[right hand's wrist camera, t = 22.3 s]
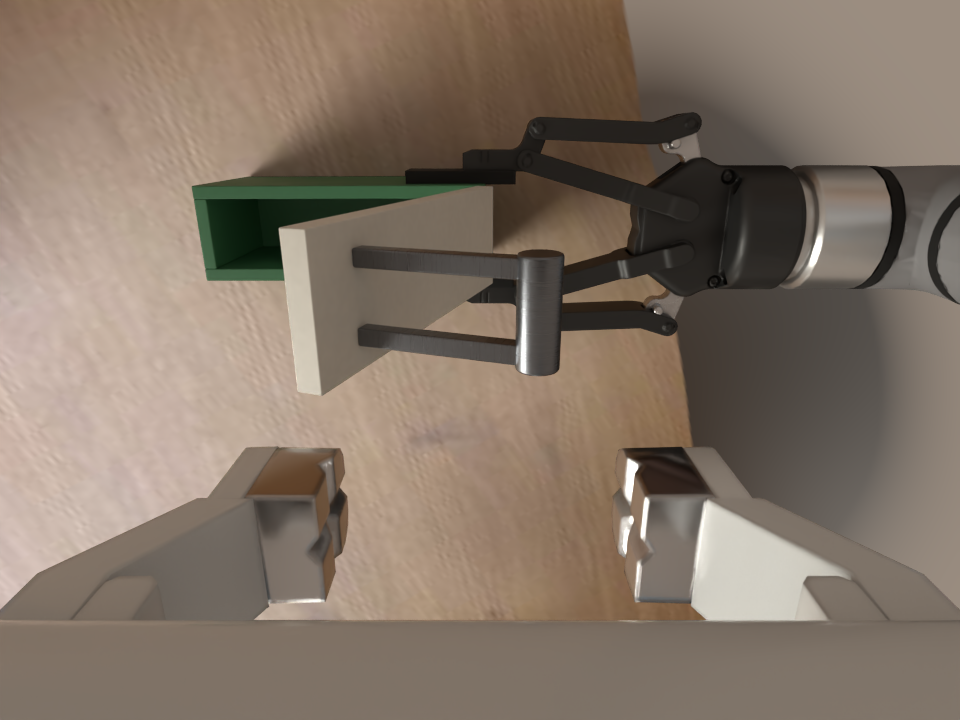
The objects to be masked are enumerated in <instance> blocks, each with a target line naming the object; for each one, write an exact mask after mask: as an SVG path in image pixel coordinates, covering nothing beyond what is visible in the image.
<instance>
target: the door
mask: <svg viewBox="0 0 960 720" xmlns="http://www.w3.org/2000/svg"><path fill="white" fill-rule="evenodd" d="M279 235H280V244H281V252H282V261H283V270H284V278H285V287H286V295H287V304H288V312H289V321H290V329H291V338H292V346H293V355H294V363H295V372H296V381H297V389H298V392H301V393H307V394H314V395H320V396H323V395H324V394H326V393H327V392H329V391H330V390H332V389H333V388H335V387H336V386H338V385H339V384H341V383H342V382H344V381H345V380H347V379H348V378H350V377H351V376H353V375H354V374H356V373H357V372H359V371H361V370H362V369H364V368H365V367H367V366H368V365H370V364H371V363H373V362H374V361H376V360H377V359H379V358H380V357H382V356H383V355H385V354H386V353H388V352H389V351H391V350H396V351H404V352H412V353H421V354H429V355H437V356H445V357H453V358H461V359H469V360H477V361H485V362H494V363H502V364H510V365H515V367H516V370H517V371H518V372H520V373H522V374H526V375H531V376H547V375H552V374H554V373H556V372H557V371H558V370H559V366H560V344H561V321H562V299H563V276H564V254H563V253H561V252H559V251H554V250H526V251H522V252H519V253H518V255H511V254H495V253H493V186H474V187H470V188H465V189H460V190H455V191H451V192H446V193H441V194H436V195H432V196H427V197H422V198H417V199H412V200H408V201H403V202H398V203H393V204H389V205H384V206H379V207H374V208H370V209H365V210H360V211H355V212H351V213H346V214H341V215H336V216H332V217H327V218H322V219H317V220H312V221H308V222H303V223H298V224H293V225H289V226H284V227H280V228H279ZM493 278H498V279H511V280H517V295H516V340H513V339H504V338H495V337H486V336H477V335H468V334H458V333H449V332H440V331H431V330H423V329H424V328H426V327H427V326H429V325H430V324H432V323H433V322H435V321H436V320H438V319H439V318H441V317H442V316H444V315H445V314H447V313H448V312H450V311H451V310H453V309H454V308H456V307H457V306H459V305H460V304H462V303H463V302H465V301H466V300H468V299H469V298H471V297H473V296H474V295H476V294H477V293H479V292H480V291H482V290H483V289H485V288H486V287H488V286H489V285H491V284H492V283H493Z"/></svg>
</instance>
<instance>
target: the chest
mask: <svg viewBox="0 0 960 720" xmlns="http://www.w3.org/2000/svg"><path fill="white" fill-rule="evenodd" d="M474 186H486V184H406V178H405V176H314V177H244V178H238V179H232V180H226V181H220V182H214V183H208V184H202V185H196V186H192V191H193V197H194V203H195V209H196V215H197V221H198V227H199V234H200V240H201V246H202V252H203V258H204V264H205V268H206V269H205V271H206V277H207V280H208V281H285V278H284V270H283V261H282V252H281V244H280V235H279V228H280V227H284V226H289V225H293V224H298V223H303V222H308V221H312V220H317V219H322V218H327V217H332V216H336V215H341V214H346V213H351V212H355V211H360V210H365V209H370V208H374V207H379V206H384V205H389V204H393V203H398V202H403V201H408V200H412V199H417V198H422V197H427V196H432V195H436V194H441V193H446V192H451V191H455V190H460V189H465V188H470V187H474Z"/></svg>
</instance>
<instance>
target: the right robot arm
mask: <svg viewBox="0 0 960 720" xmlns="http://www.w3.org/2000/svg"><path fill="white" fill-rule="evenodd" d="M344 474H345V468H344V459H343V454H342V451H341V449H340V448H297V447H281V448H279V447H278V446H276V447H250V448H246V449H245V450H244V451H243V452H242V453H241V455H240V456H239V457H238V459H237V460H236V461H235V463H234V464H233V465H232V466H231V468H230V469H229V470H228V472H227V473H226V474H225V476H224V477H223V478H222V480H221V481H220V482H219V483H218V485H217V486H216V487H215V489H214V490H213V491H212V493H211V494H210V495H209V496H208V498H197V499H195V500H193V501H191V502H188V503H186V504H184V505H182V506H180V507H178V508H176V509H174V510H171V511H169V512H167V513H165V514H163V515H161V516H159V517H156V518H154V519H152V520H150V521H148V522H146V523H144V524H142V525H139V526H137V527H135V528H133V529H131V530H129V531H127V532H125V533H122V534H120V535H118V536H116V537H114V538H112V539H110V540H108V541H105V542H103V543H101V544H99V545H97V546H95V547H93V548H91V549H88V550H86V551H84V552H82V553H80V554H78V555H76V556H73V557H71V558H69V559H67V560H65V561H63V562H61V563H59V564H56V565H54V566H52V567H50V568H48V569H46V570H44V571H42V572H39V573H37V574H36V575H35V576H34V577H33V578H32V579H31V580H30V581H29V582H28V583H27V584H26V585H25V586H24V587H23V588H22V589H21V590H20V591H19V592H18V593H17V594H16V595H15V596H14V597H13V598H12V599H11V600H10V601H9V602H8V603H7V604H6V605H5V606H4V607H3V608H2V609H1V610H0V720H960V609H959V608H958V607H957V606H955V605H954V604H953V603H952V602H951V601H950V600H949V599H948V598H947V597H946V596H945V595H944V594H943V593H942V592H941V591H940V590H939V589H938V588H937V587H936V586H935V585H934V584H933V583H932V582H931V581H930V580H929V579H928V578H927V577H926V576H925V575H924V574H922V573H920V572H918V571H916V570H914V569H912V568H909V567H907V566H905V565H903V564H901V563H899V562H897V561H895V560H892V559H890V558H888V557H886V556H884V555H882V554H880V553H878V552H875V551H873V550H871V549H869V548H867V547H865V546H863V545H861V544H858V543H856V542H854V541H852V540H850V539H848V538H846V537H844V536H842V535H839V534H837V533H835V532H833V531H831V530H829V529H827V528H825V527H822V526H820V525H818V524H816V523H814V522H812V521H810V520H808V519H805V518H803V517H801V516H799V515H797V514H795V513H793V512H791V511H789V510H786V509H784V508H782V507H780V506H778V505H776V504H774V503H772V502H769V501H767V500H765V499H763V498H752V497H751V495H750V494H749V493H748V491H747V490H746V489H745V487H744V486H743V485H742V484H741V482H740V481H739V480H738V478H737V477H736V476H735V475H734V473H733V472H732V471H731V469H730V468H729V467H728V465H727V464H726V463H725V462H724V460H723V459H722V458H721V456H720V455H719V454H718V453H717V451H716V450H715V449H714V448H712V447H709V446H706V447H685V448H682V447H658V448H622V449H619V450H618V454H617V458H616V467H615V474H616V477H617V479H618V482H619V485H620V487H621V488H620V489H619V490H618V491H617V492H616V493H615V494H614V496H613V502H612V530H613V536H614V541H615V545H616V548H617V551H618V553H619V554H620V555H622V556H623V557H624V558H626V559H625V570H624V572H625V575H626V578H627V581H628V584H629V587H630V590H631V593H632V596H633V598H634V601H635V602H656V603H691V606H692V607H693V608H694V609H695V610H696V611H697V612H698V613H700V614H701V615H702V616H703V617H704V618H705V619H706V620H254V619H255V618H256V617H257V616H258V615H260V614H261V613H262V612H263V611H264V610H265V609H266V608H268V607H269V604H268V603H303V602H326V599H327V596H328V593H329V590H330V587H331V584H332V581H333V578H334V575H335V572H336V570H335V559H334V558H336V557H337V556H338V555H340V554H341V553H342V551H343V548H344V545H345V541H346V535H347V528H348V501H347V496H346V494H345V493H344V492H343V491H342V490H341V489H340V488H339V487H340V485H341V482H342V479H343V477H344Z"/></svg>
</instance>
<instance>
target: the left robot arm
mask: <svg viewBox="0 0 960 720" xmlns="http://www.w3.org/2000/svg"><path fill="white" fill-rule="evenodd" d="M701 122H702V120H701V118H700V116H699V115H698V114H697V113H694V112H692V113H683V114H676V115H673V116H670V117H667V118H664V119H661V120H658V121H655V122H641V121H618V120H596V119H574V118H551V117H537V118H534V119H532V120H531V121H530V122H529V123H528V125H527V129H526V131H525V134H524V137H523V140H522V142H521V144H520V145H519V146H518V147H516V148H514V149H472V150H469V151H467V152H465V153H463V169H409V170H406V171H405V178H406V184H515V182H516V171H525V172H528V173H531V174H534V175H538V176H541V177H544V178H548V179H551V180H554V181H557V182H561V183H564V184H567V185H570V186H574V187H577V188H580V189H584V190H587V191H590V192H593V193H597V194H600V195H603V196H607V197H610V198H613V199H616V200H620V201H623V202H626V203H629V204H631V208H630V216H631V222H632V228H631V231H630V234H629V237H628V244H627V247H624V248H621V249H617V250H615V251H613V252H611V253H609V254H606V255H602V256H599V257H595V258H592V259H588V260H585V261H581V262H578V263H574V264H570V265H567V266H564V276H563V295H564V294H568V293H571V292H575V291H579V290H582V289H586V288H590V287H593V286H597V285H600V284H604V283H608V282H611V281H615V280H618V279H630V278H634V277H637V276H641V275H645V274H648V275H649V276H651V277H652V278H653V279H655V280H656V281H657V282H659V283H660V284H661V285H662V286H664V287H665V288H666V291H665V292H664V293H663V294H661V295H659V296H649V297H647V298H646V299H645V301H644V302H643V303H642V302H637V301H607V302H581V303H562V321H561V331H577V330H604V329H630V328H642V329H645V330H648V331H651V332H654V333H658V334H661V335H664V336H670V335H673V334H674V333H675V332H676V330H677V327H678V326H677V322H676V321H675V320H674V319H675V317H676V314H677V312H678V310H679V308H680V305H681V303H682V301H683V299H684V297H687V296H691V295H693V294H695V293H697V292H699V291H702V290H705V289H772V288H775V287H777V286H778V285H779V286H780V287H782V288H784V289H864V288H869V289H908V290H918V291H924V292H928V293H931V294H934V295H937V296H940V297H942V298H945V299H948V300H951V301H953V302H955V303H957V304H960V165H937V166H897V167H878V166H848V165H845V166H843V165H841V166H840V165H838V166H837V165H802V166H796V167H795V168H793V169H789V168H788V167H786V166H782V165H774V166H773V165H769V166H768V165H751V166H750V165H737V166H736V165H735V166H734V165H731V166H730V165H728V166H727V165H717V164H715V163H713V162H711V161H710V160H708V159H706V158H703V157H701V153H700V148H699V142H698V136H697V131H698V130H699V129H700V127H701ZM545 140H565V141H587V142H610V143H632V144H658V145H659V148H660V150H661V151H662V152H663V153H667V154H676V155H677V156H678V157H679V158H680V162H679V163H678V164H676V165H675V166H674V167H672V168H671V169H669V170H668V171H666V172H665V173H664V174H662V175H661V176H659V177H658V178H656V179H655V180H654V181H652V182H651V183H649V184H648V185H646V186H644V185H641V184H637V183H634V182H631V181H628V180H624V179H621V178H618V177H615V176H611V175H608V174H605V173H602V172H598V171H595V170H592V169H589V168H585V167H582V166H579V165H576V164H572V163H569V162H566V161H563V160H559V159H556V158H553V157H550V156H546V155H543V154H540V153H541V150H542V148H543V145H544V142H545ZM516 295H517V280H511V279H498V278H493V283H492V284H491V285H489V286H488V287H486V288H485V289H483V290H482V291H480V292H479V293H477V294H476V295H474V296H473V297H471V298H469V299H468V300H466V301H468V302H471V303H511V304H514V305H515V306H516Z"/></svg>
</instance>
